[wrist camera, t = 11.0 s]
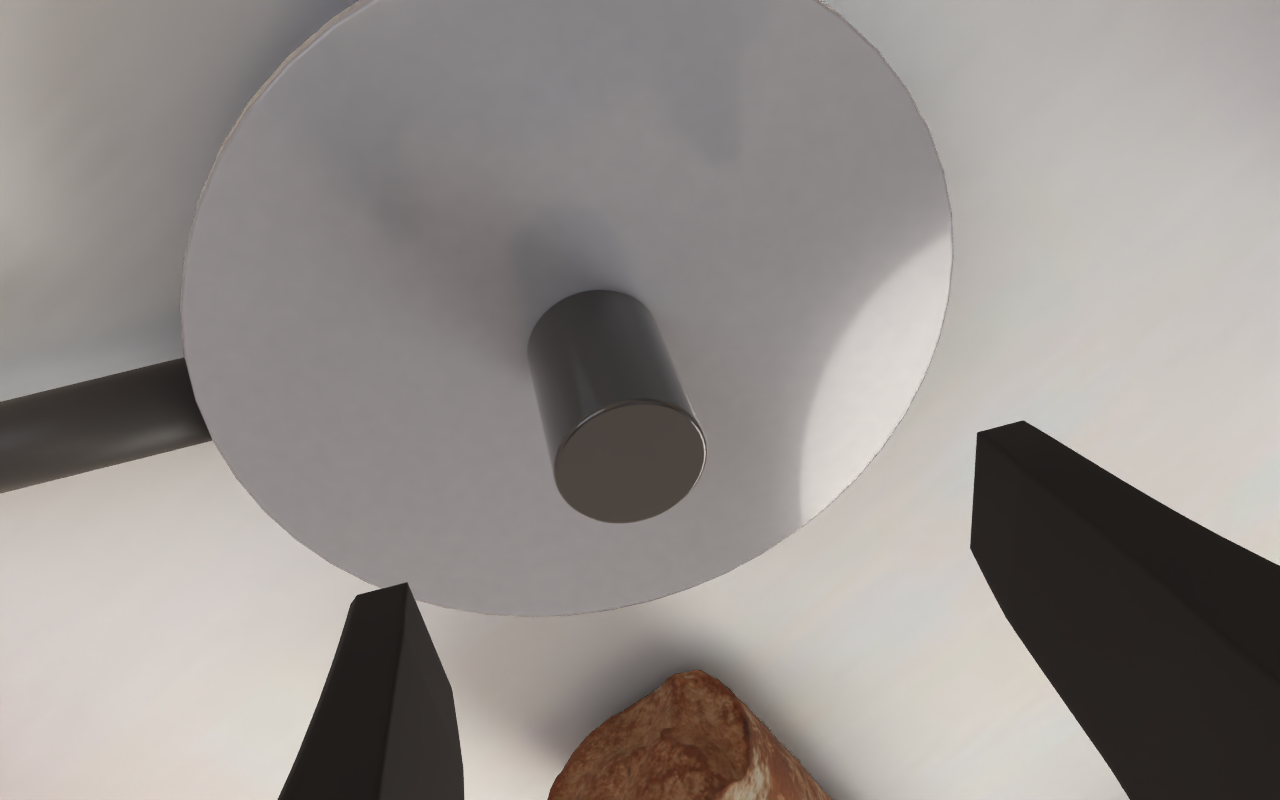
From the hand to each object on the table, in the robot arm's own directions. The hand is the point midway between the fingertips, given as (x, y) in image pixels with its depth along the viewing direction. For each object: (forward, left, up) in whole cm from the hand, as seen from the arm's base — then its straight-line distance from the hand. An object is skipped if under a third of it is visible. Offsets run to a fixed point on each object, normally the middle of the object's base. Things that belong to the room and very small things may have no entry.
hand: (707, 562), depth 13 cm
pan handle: (+11, +1, -9) cm, 14 cm away
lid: (0, +1, -7) cm, 7 cm away
